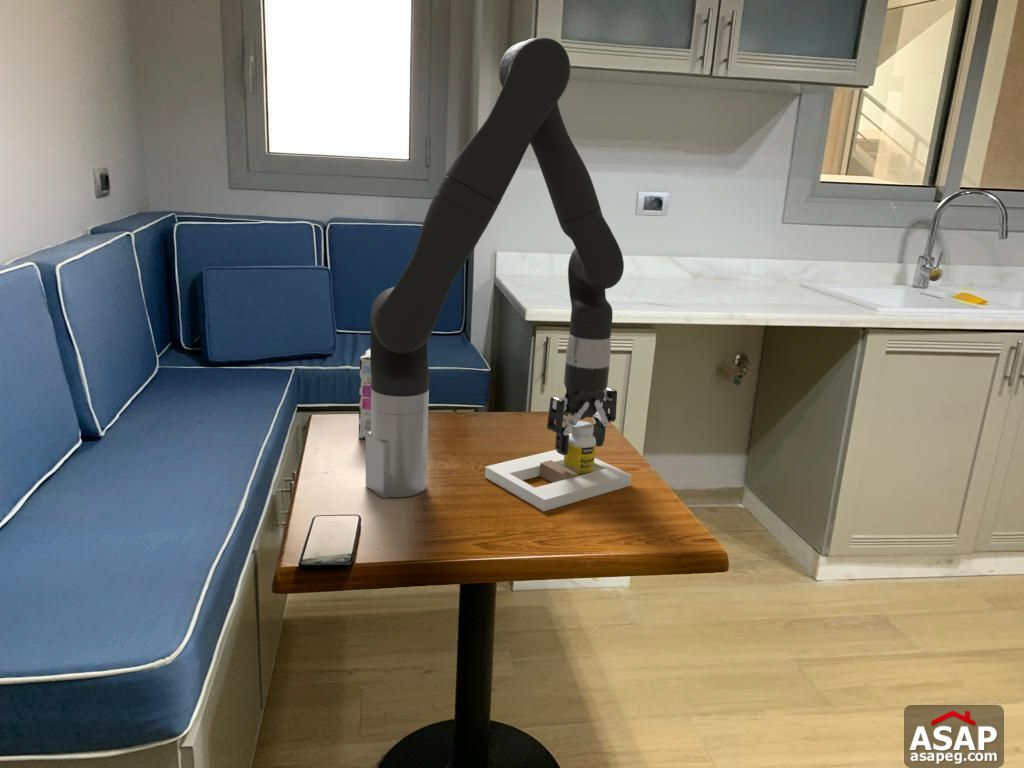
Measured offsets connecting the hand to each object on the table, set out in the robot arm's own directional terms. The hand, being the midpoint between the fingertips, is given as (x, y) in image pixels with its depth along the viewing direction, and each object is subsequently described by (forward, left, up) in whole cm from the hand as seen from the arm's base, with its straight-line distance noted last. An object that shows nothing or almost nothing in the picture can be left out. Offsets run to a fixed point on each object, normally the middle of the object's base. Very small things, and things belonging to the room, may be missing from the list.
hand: (579, 449), depth 138 cm
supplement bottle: (0, 0, -5) cm, 5 cm away
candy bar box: (-20, +38, -5) cm, 43 cm away
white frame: (-5, 0, -5) cm, 7 cm away
